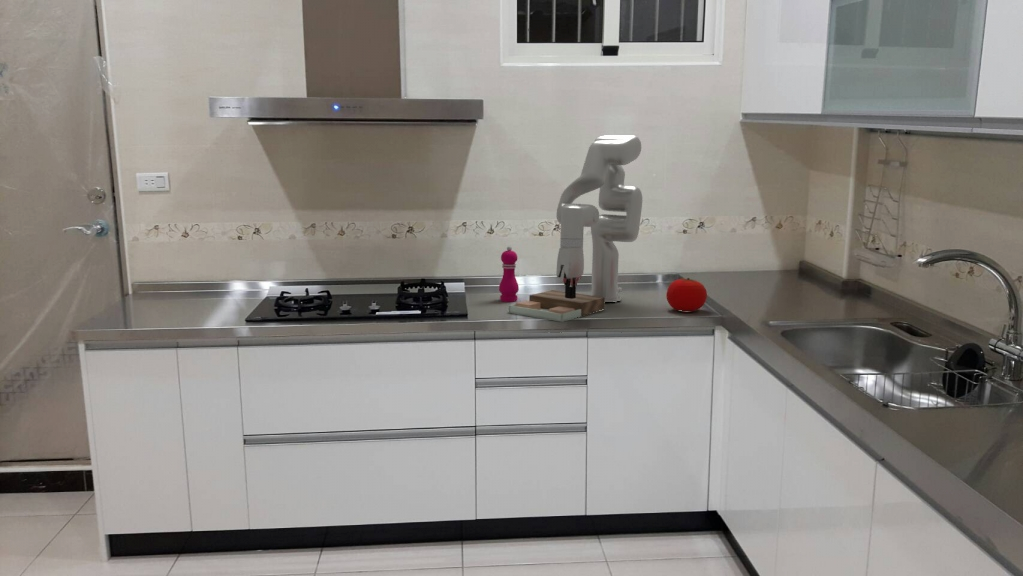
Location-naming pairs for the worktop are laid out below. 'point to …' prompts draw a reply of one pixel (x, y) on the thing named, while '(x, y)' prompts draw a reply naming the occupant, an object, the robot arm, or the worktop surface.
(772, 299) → the worktop surface
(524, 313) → the tray
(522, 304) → the tile
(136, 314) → the worktop surface
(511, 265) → the pepper mill
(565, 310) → the tile
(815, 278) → the worktop surface
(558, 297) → the board
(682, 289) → the tomato
